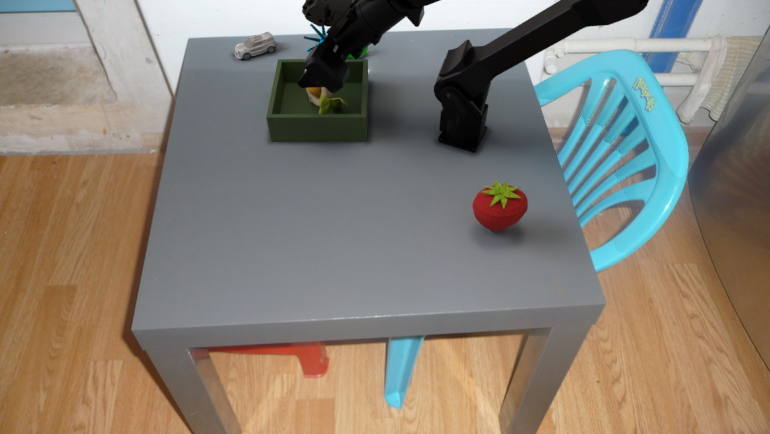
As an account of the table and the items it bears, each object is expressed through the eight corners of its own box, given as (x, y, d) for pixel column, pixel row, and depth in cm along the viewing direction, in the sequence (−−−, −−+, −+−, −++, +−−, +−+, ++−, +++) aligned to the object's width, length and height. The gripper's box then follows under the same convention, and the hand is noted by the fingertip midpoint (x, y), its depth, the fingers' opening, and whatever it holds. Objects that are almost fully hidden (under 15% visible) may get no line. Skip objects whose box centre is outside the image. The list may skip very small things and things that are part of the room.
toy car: (232, 52, 111) (229, 38, 109) (271, 41, 114) (269, 27, 112) (238, 62, 109) (235, 48, 107) (278, 51, 112) (276, 37, 110)
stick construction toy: (302, 59, 106) (307, 14, 105) (297, 59, 113) (302, 17, 111) (366, 70, 110) (372, 26, 108) (357, 70, 116) (363, 29, 115)
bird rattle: (300, 119, 101) (329, 127, 94) (278, 57, 95) (306, 60, 89) (329, 104, 104) (359, 111, 97) (309, 43, 98) (338, 45, 91)
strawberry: (527, 243, 81) (541, 194, 74) (474, 250, 81) (483, 201, 73) (513, 211, 85) (526, 161, 78) (463, 218, 84) (470, 168, 77)
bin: (368, 82, 105) (367, 58, 102) (366, 141, 95) (366, 117, 91) (281, 82, 105) (277, 59, 102) (270, 141, 95) (266, 117, 91)
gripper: (354, -59, 86) (292, 1, 97) (311, 5, 75) (246, 66, 85) (404, -2, 91) (340, 50, 101) (371, 67, 79) (303, 117, 90)
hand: (309, 68), depth 94 cm, fingers open, 9 cm apart
